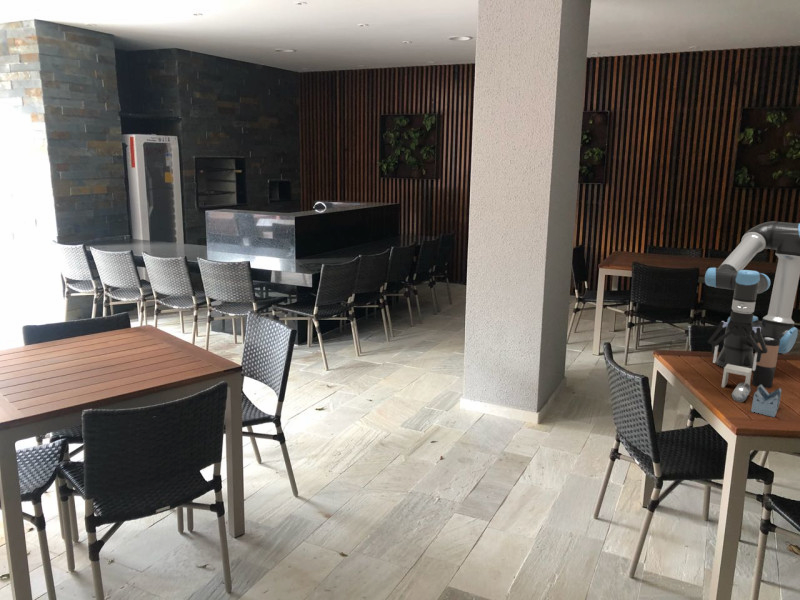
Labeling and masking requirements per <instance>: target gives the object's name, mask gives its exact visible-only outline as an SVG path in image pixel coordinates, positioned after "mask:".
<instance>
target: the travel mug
mask: <svg viewBox="0 0 800 600" xmlns="http://www.w3.org/2000/svg"><path fill="white" fill-rule="evenodd" d="M762 337H763V339H764V342H765V344H766V347H767V350H768V351H767V353H763V354H761V360H760V362H757V363H756V369H755V371H752V377H751V378H752V379H751V385H753V386H755V387H758V386H759V385H761V384H762V386H763V387H764V388H765V389H770V387H771V388H772V386H773V382H774V377H775V373H776V367H777V362H778V355H779V353H778V350H779V343H780V339H779V338H777V337H774V336H768V335H762ZM758 346H759V347H760V349H761V350H762V348H761V345H760V342H759V340H758Z"/></svg>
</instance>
